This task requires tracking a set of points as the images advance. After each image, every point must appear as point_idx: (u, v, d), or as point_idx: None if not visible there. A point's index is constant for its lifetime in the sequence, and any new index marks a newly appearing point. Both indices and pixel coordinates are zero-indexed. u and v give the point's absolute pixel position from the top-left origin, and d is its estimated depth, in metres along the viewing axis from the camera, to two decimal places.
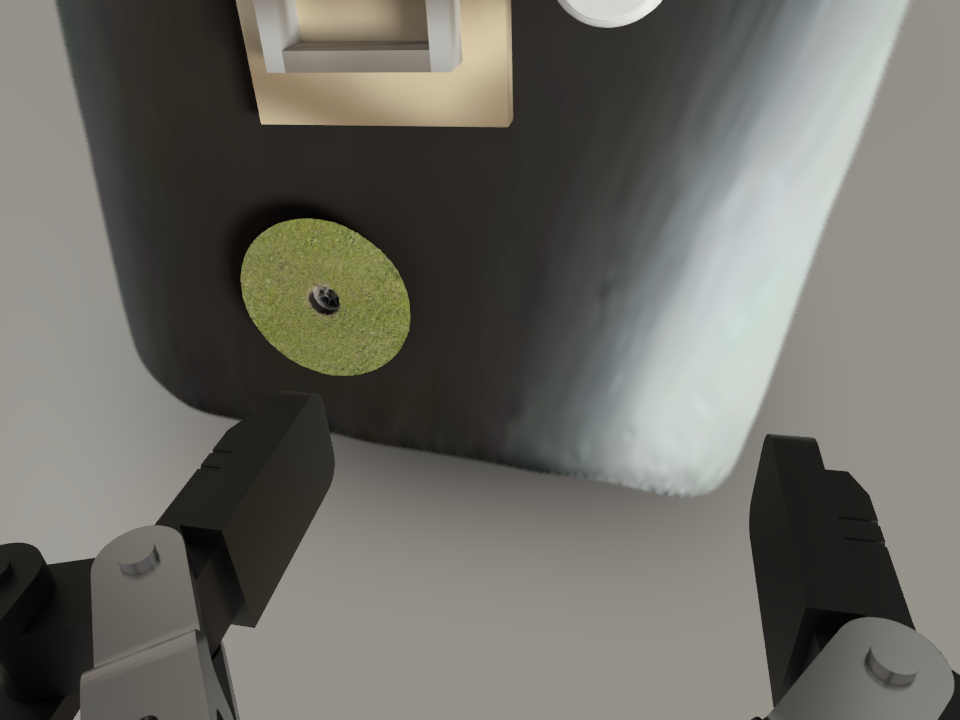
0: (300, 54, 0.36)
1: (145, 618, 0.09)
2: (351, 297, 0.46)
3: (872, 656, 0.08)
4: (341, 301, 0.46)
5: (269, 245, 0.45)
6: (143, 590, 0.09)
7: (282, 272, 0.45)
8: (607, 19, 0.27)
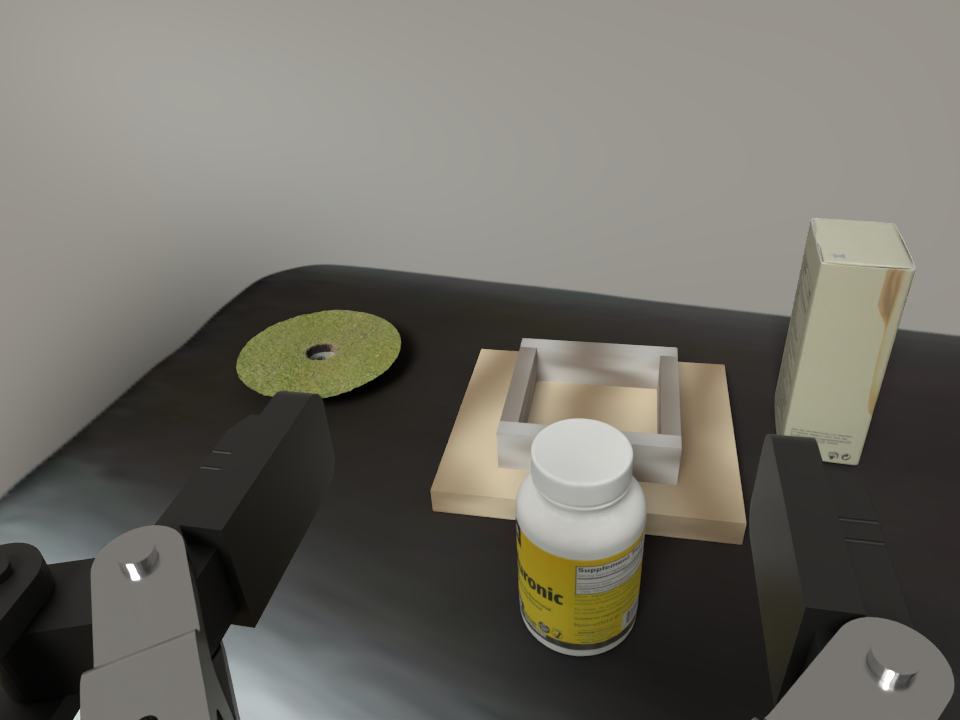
0: (532, 356, 0.44)
1: (145, 618, 0.09)
2: (315, 366, 0.49)
3: (872, 656, 0.08)
4: (315, 360, 0.49)
5: (384, 331, 0.52)
6: (143, 590, 0.09)
7: (358, 333, 0.52)
8: (532, 446, 0.29)
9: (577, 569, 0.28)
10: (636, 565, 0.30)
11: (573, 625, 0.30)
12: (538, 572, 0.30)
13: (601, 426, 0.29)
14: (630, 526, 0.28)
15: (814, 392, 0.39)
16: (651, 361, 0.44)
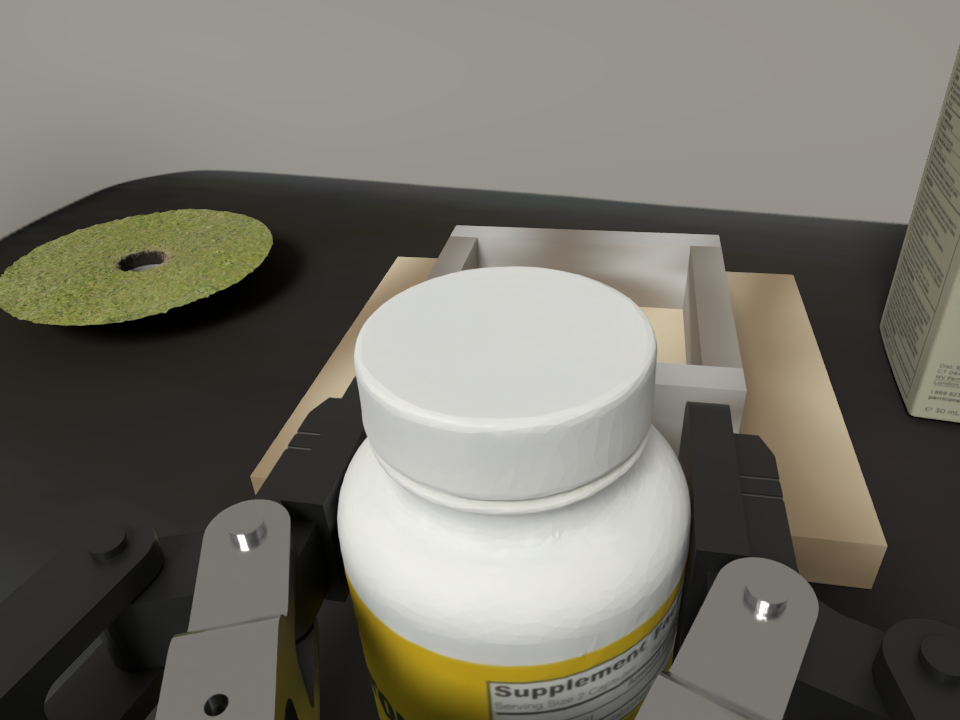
0: (467, 248, 0.26)
1: (263, 586, 0.09)
2: (124, 280, 0.30)
3: (747, 589, 0.09)
4: (127, 272, 0.31)
5: (251, 234, 0.33)
6: (245, 563, 0.10)
7: (209, 237, 0.33)
8: (364, 327, 0.10)
9: (490, 690, 0.09)
10: (663, 662, 0.11)
11: None
12: (393, 687, 0.11)
13: (565, 281, 0.11)
14: (649, 561, 0.09)
15: None
16: (674, 257, 0.25)
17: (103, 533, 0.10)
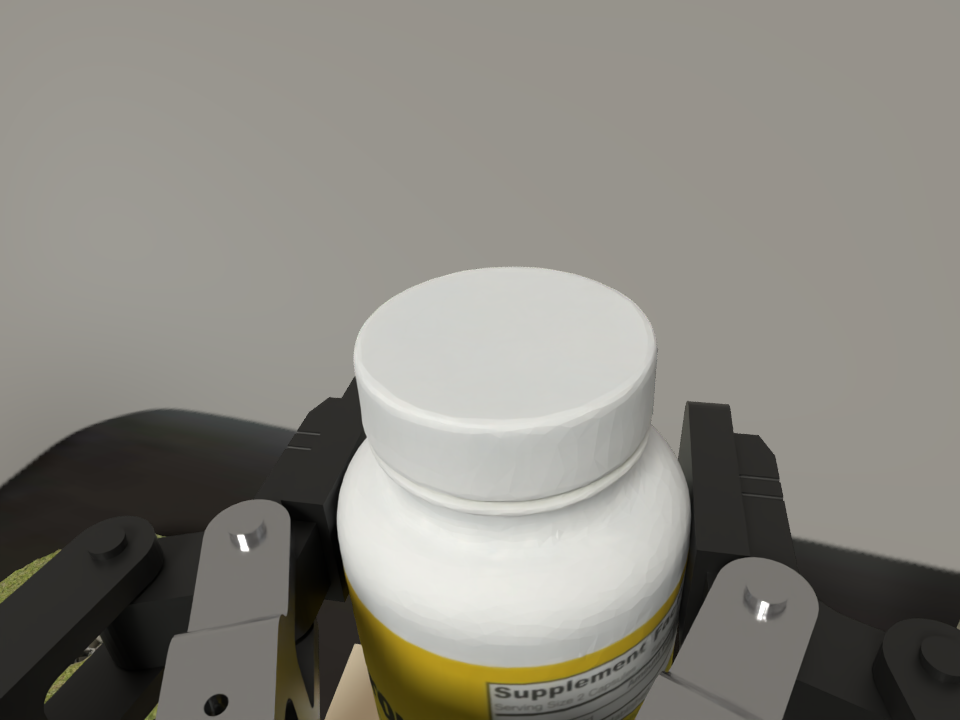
0: None
1: (263, 586, 0.09)
2: (53, 685, 0.27)
3: (747, 589, 0.09)
4: None
5: None
6: (244, 563, 0.10)
7: None
8: (363, 327, 0.10)
9: (490, 691, 0.09)
10: (663, 663, 0.11)
11: None
12: (393, 687, 0.11)
13: (565, 281, 0.11)
14: (650, 562, 0.09)
15: None
16: None
17: (103, 533, 0.10)
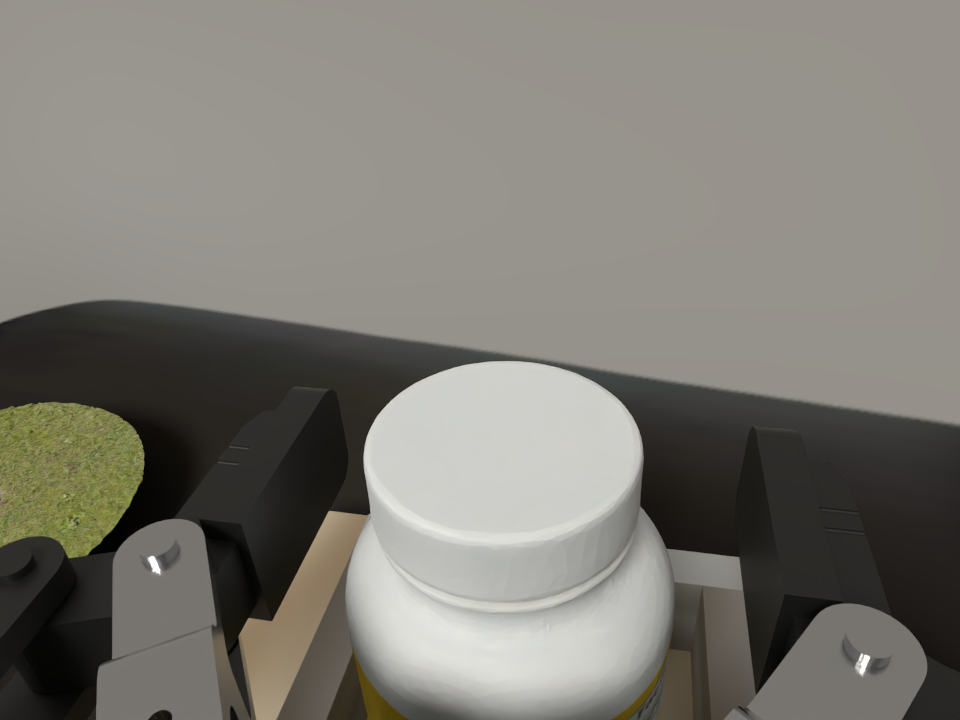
0: None
1: (168, 610, 0.09)
2: None
3: (847, 641, 0.08)
4: None
5: (118, 458, 0.25)
6: (162, 583, 0.10)
7: (64, 462, 0.25)
8: (373, 426, 0.11)
9: None
10: None
11: None
12: None
13: (561, 379, 0.11)
14: (633, 653, 0.10)
15: None
16: (678, 596, 0.17)
17: (7, 556, 0.10)
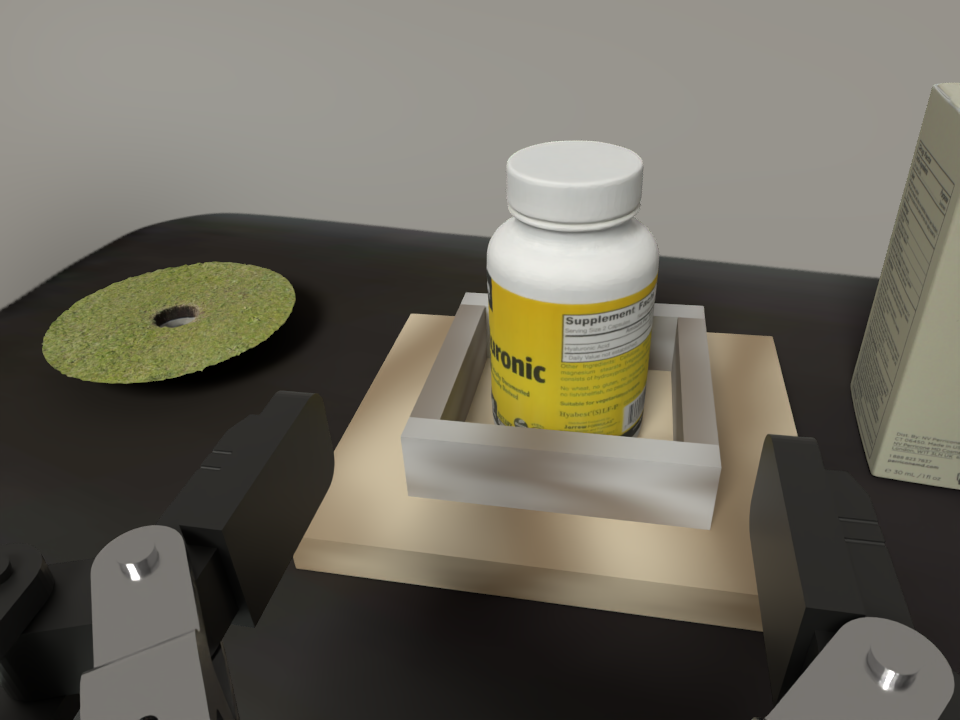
0: (476, 317, 0.28)
1: (145, 618, 0.09)
2: (161, 336, 0.33)
3: (872, 656, 0.08)
4: (163, 328, 0.33)
5: (274, 289, 0.36)
6: (143, 591, 0.09)
7: (236, 292, 0.36)
8: (509, 159, 0.22)
9: (564, 320, 0.21)
10: (643, 332, 0.23)
11: (559, 415, 0.23)
12: (513, 337, 0.22)
13: (601, 145, 0.22)
14: (637, 263, 0.21)
15: (942, 373, 0.23)
16: (663, 327, 0.28)
17: None
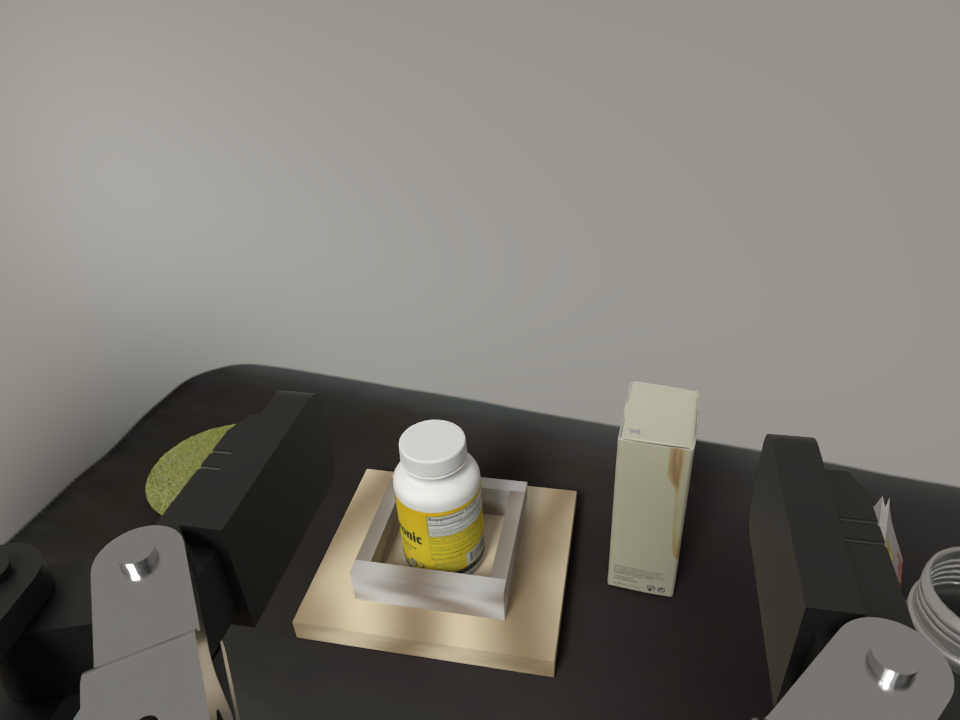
0: None
1: (145, 618, 0.09)
2: None
3: (872, 656, 0.08)
4: None
5: None
6: (143, 590, 0.09)
7: None
8: (401, 437, 0.43)
9: (427, 519, 0.43)
10: (472, 519, 0.44)
11: (431, 559, 0.45)
12: (405, 522, 0.44)
13: (449, 425, 0.44)
14: (462, 491, 0.43)
15: (627, 538, 0.45)
16: (503, 494, 0.50)
17: None
